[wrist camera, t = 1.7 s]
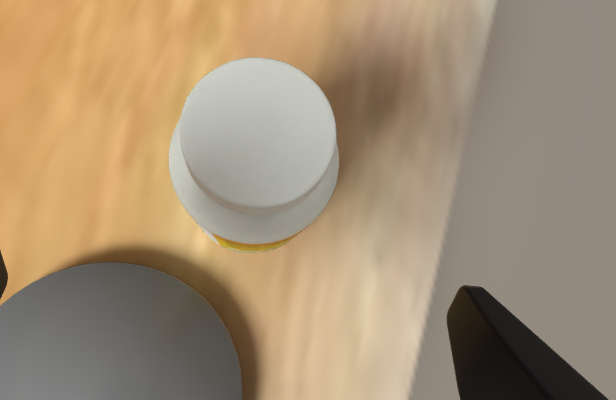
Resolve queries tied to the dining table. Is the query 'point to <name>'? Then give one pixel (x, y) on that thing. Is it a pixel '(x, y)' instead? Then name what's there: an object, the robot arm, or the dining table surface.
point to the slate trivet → (115, 339)
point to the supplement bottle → (254, 154)
